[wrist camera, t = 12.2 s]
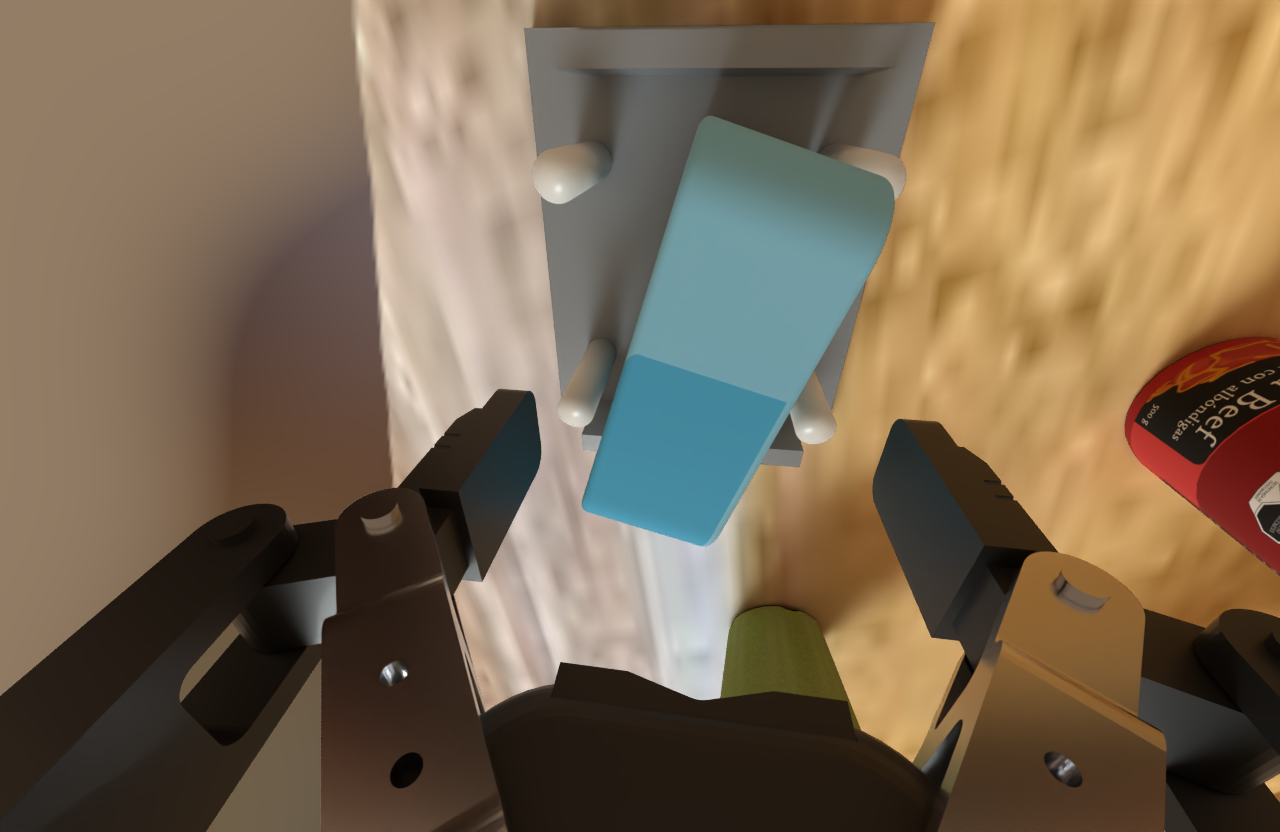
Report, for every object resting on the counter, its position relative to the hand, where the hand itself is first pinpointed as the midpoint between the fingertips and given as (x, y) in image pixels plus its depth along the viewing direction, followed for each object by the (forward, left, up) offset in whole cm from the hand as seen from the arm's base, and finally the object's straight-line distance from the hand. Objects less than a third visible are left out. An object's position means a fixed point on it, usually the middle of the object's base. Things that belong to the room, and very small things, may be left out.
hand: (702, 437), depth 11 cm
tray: (0, 0, -15) cm, 15 cm away
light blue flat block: (0, 0, -14) cm, 14 cm away
